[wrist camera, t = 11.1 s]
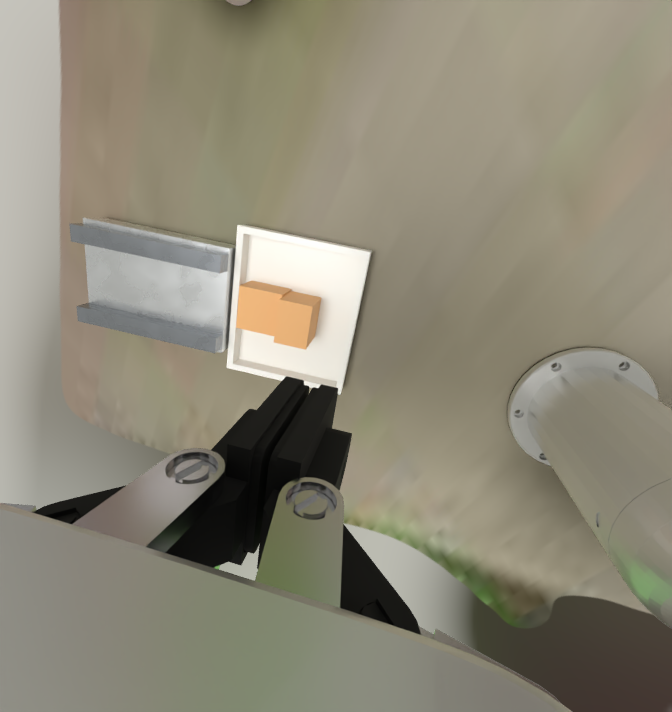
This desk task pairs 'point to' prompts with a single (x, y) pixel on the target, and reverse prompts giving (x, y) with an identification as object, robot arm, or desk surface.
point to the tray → (308, 276)
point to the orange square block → (297, 319)
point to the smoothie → (238, 2)
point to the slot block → (157, 283)
